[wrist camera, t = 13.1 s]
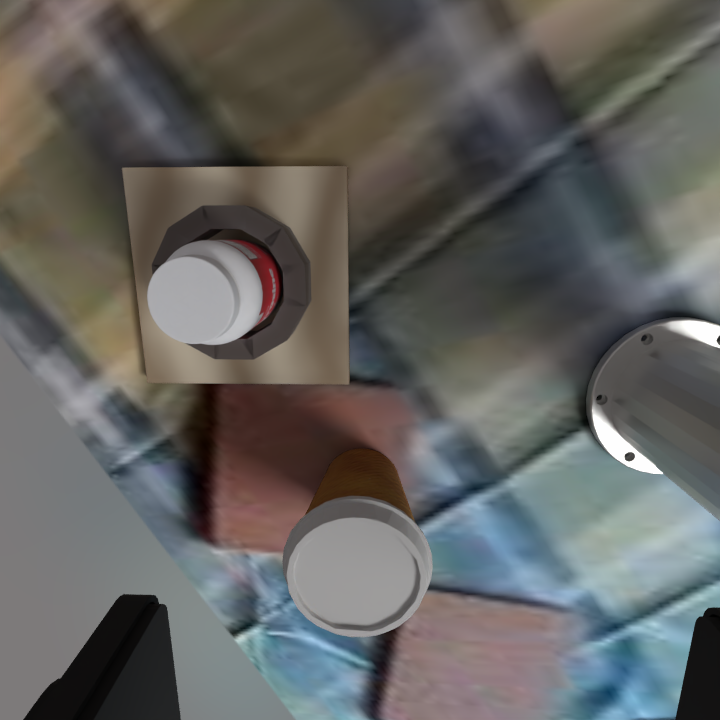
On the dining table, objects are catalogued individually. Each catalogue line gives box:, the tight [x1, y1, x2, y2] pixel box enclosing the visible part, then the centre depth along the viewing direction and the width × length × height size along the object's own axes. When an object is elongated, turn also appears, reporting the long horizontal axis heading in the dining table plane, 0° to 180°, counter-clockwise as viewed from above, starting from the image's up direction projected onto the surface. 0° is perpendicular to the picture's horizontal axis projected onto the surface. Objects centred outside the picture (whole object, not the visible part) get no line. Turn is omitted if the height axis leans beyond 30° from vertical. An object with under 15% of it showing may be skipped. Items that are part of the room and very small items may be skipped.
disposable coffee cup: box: [283, 449, 432, 637], centre depth 36 cm, size 10×10×12 cm
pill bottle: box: [147, 239, 284, 345], centre depth 31 cm, size 6×6×11 cm
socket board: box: [122, 166, 350, 385], centre depth 35 cm, size 16×16×4 cm
